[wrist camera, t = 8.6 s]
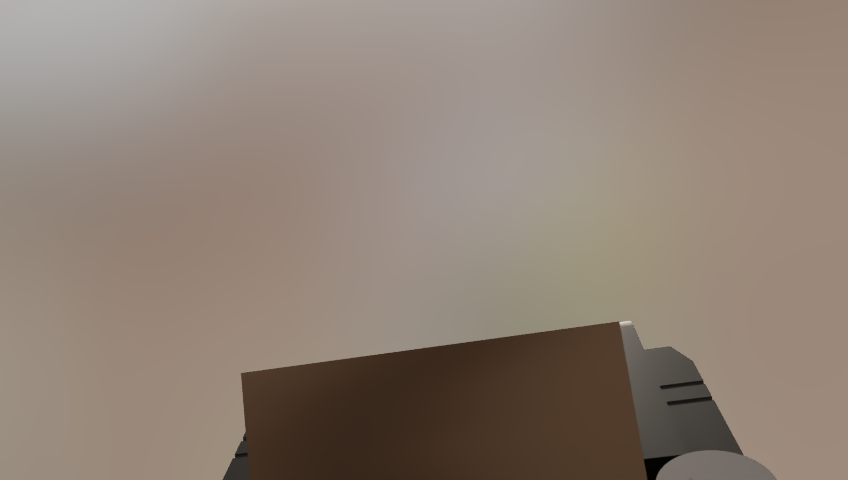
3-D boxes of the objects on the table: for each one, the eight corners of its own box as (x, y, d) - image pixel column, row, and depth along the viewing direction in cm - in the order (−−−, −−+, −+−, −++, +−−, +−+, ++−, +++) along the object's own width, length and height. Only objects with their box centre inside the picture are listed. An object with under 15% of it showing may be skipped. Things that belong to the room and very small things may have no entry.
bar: (274, 788, 7) (241, 373, 8) (478, 465, 33) (465, 372, 33) (697, 759, 7) (618, 322, 8) (571, 454, 32) (556, 360, 33)
